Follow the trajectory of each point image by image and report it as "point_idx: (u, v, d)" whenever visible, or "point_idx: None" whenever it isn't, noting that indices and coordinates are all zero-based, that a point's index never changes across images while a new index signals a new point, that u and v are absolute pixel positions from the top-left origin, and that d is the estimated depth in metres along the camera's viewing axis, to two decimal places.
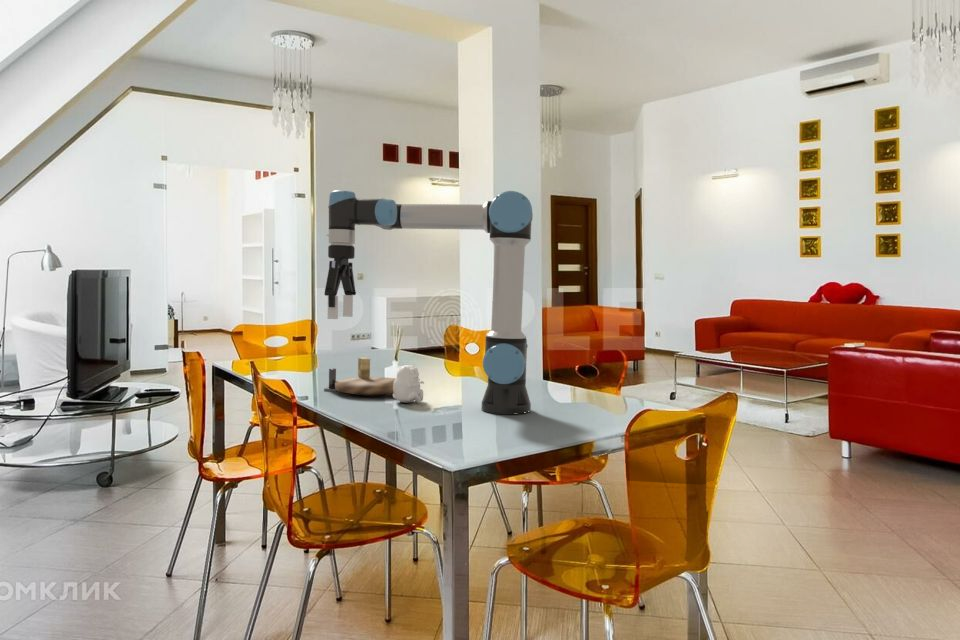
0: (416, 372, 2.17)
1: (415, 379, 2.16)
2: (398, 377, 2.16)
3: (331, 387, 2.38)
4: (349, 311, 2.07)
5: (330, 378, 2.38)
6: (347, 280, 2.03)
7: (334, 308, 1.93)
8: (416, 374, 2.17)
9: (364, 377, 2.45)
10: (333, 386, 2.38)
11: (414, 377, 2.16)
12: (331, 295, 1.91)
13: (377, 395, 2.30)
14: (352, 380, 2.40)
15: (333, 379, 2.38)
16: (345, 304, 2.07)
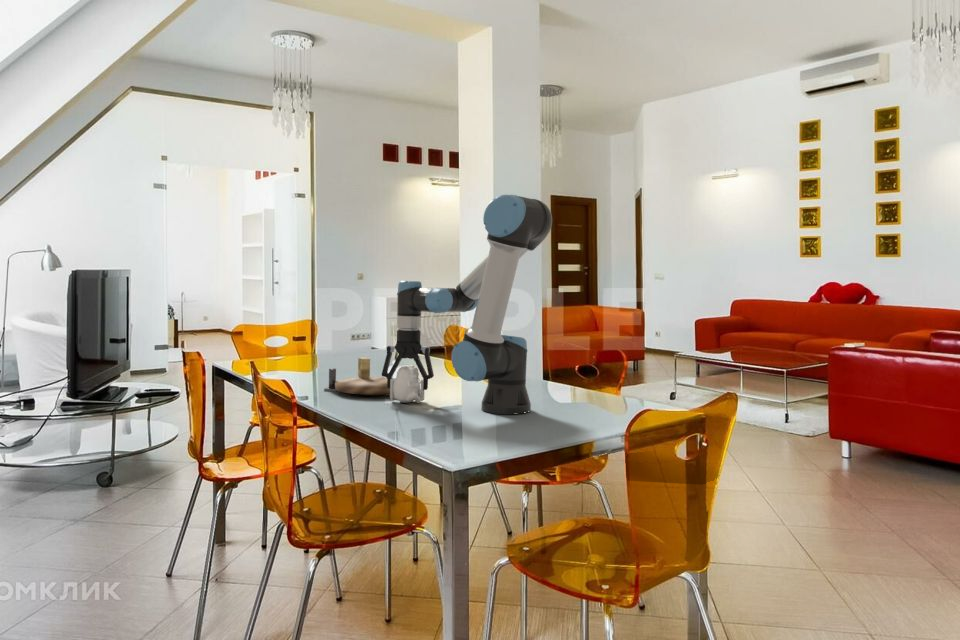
0: (416, 372, 2.17)
1: (415, 379, 2.16)
2: (398, 377, 2.16)
3: (331, 387, 2.38)
4: None
5: (330, 378, 2.38)
6: None
7: None
8: (416, 374, 2.17)
9: (364, 377, 2.45)
10: (333, 386, 2.38)
11: (414, 377, 2.16)
12: None
13: (377, 395, 2.30)
14: (352, 380, 2.40)
15: (333, 379, 2.38)
16: None
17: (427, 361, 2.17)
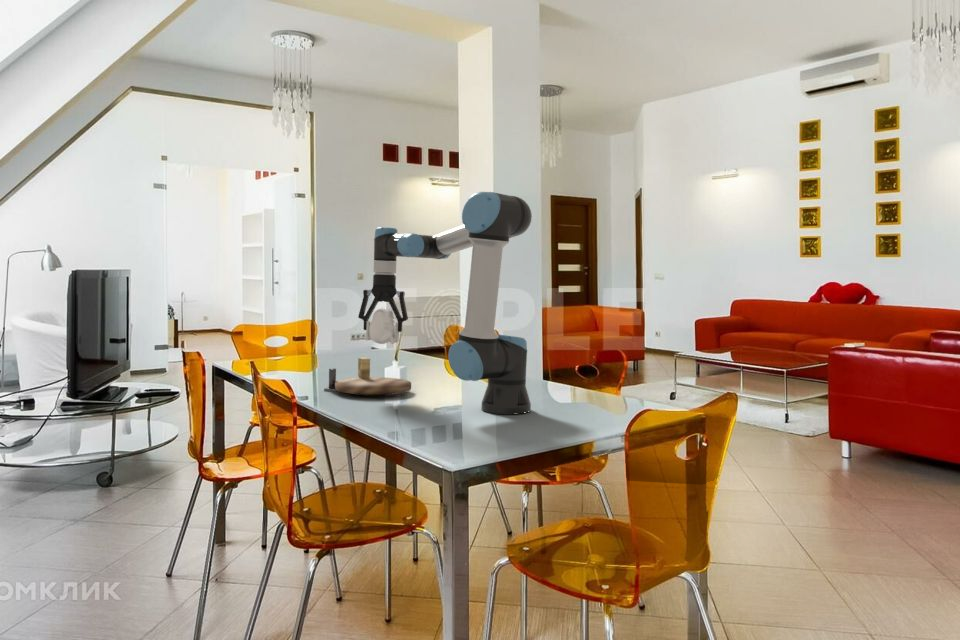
0: (391, 314, 2.29)
1: (390, 321, 2.27)
2: (374, 319, 2.28)
3: (331, 387, 2.38)
4: None
5: (330, 378, 2.38)
6: None
7: None
8: (391, 316, 2.28)
9: (364, 377, 2.45)
10: (333, 386, 2.38)
11: (389, 319, 2.27)
12: None
13: (377, 395, 2.30)
14: (352, 380, 2.40)
15: (333, 379, 2.38)
16: None
17: (401, 304, 2.28)
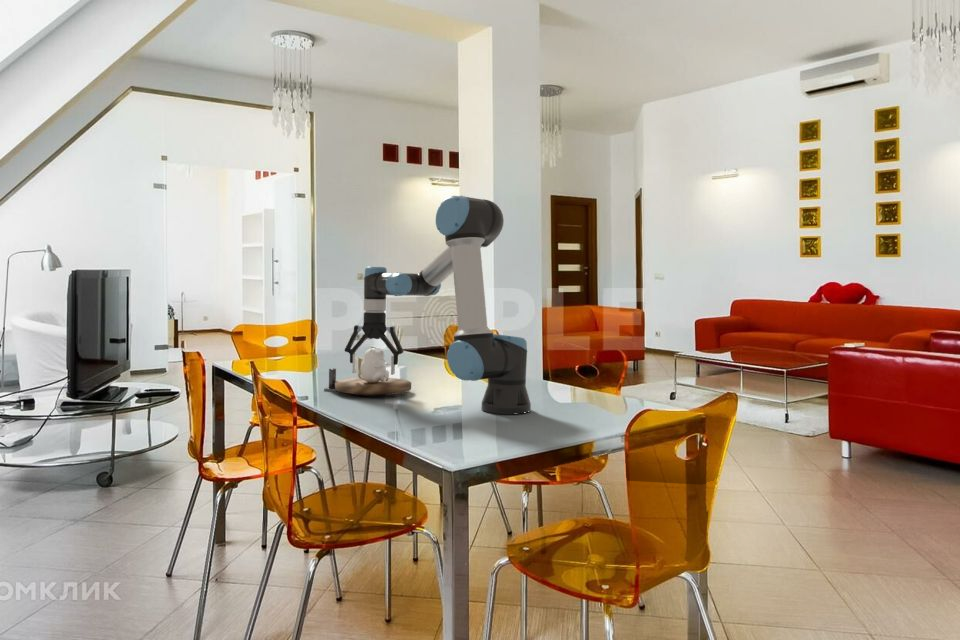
0: (381, 354, 2.34)
1: (380, 360, 2.33)
2: (365, 359, 2.33)
3: (331, 387, 2.38)
4: None
5: (330, 378, 2.38)
6: None
7: None
8: (381, 356, 2.34)
9: None
10: (333, 386, 2.38)
11: (379, 358, 2.33)
12: None
13: (377, 395, 2.30)
14: (352, 380, 2.40)
15: (333, 379, 2.38)
16: None
17: (394, 339, 2.34)
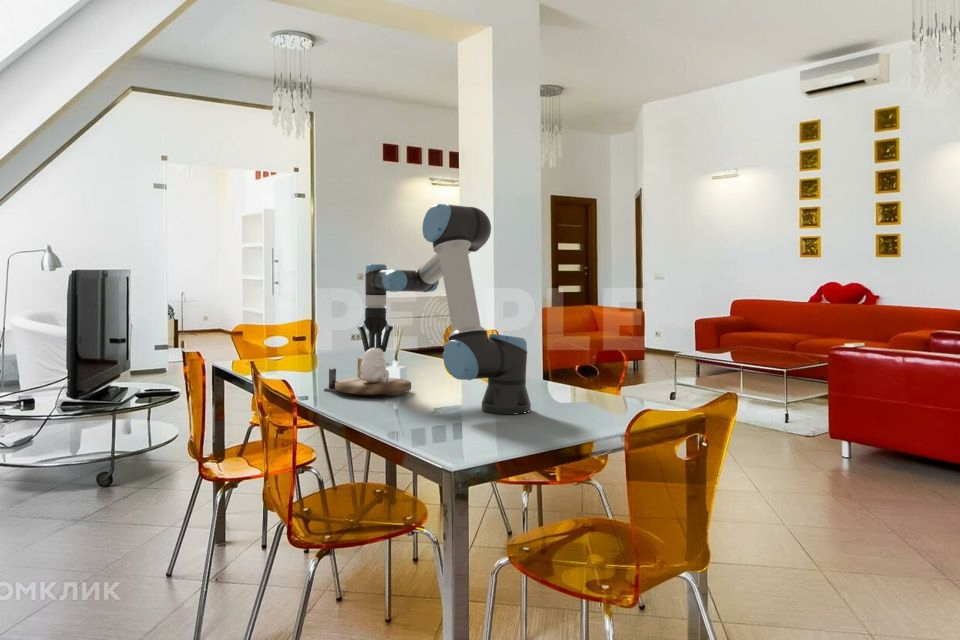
0: (382, 354, 2.34)
1: (380, 360, 2.33)
2: (365, 359, 2.33)
3: (331, 387, 2.38)
4: None
5: (330, 378, 2.38)
6: (377, 337, 2.47)
7: None
8: (381, 356, 2.34)
9: None
10: (333, 386, 2.38)
11: (380, 358, 2.33)
12: None
13: (377, 395, 2.30)
14: (352, 380, 2.39)
15: (333, 379, 2.38)
16: None
17: (387, 337, 2.48)
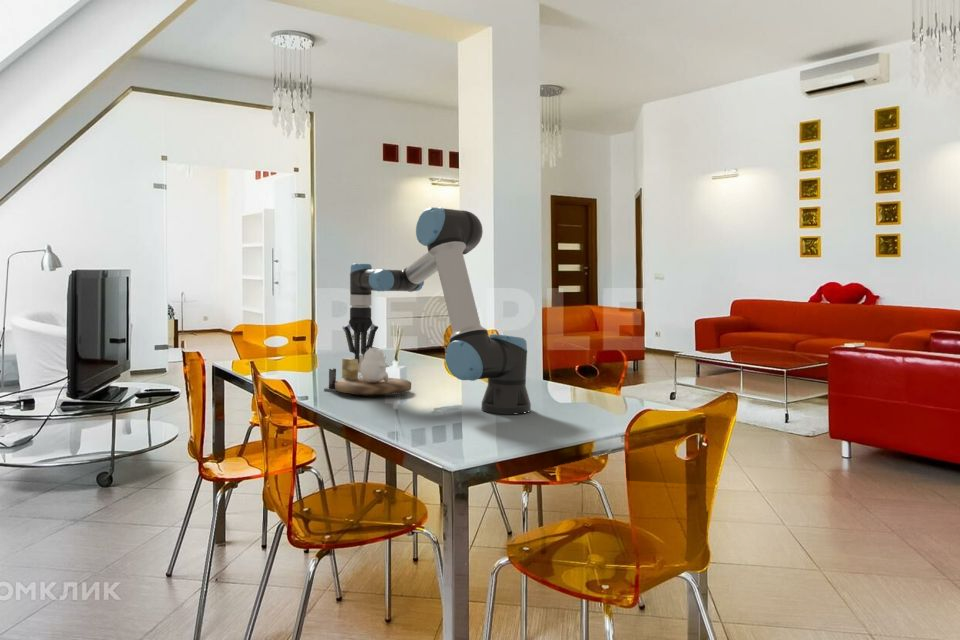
0: (383, 354, 2.36)
1: (384, 360, 2.34)
2: (368, 359, 2.32)
3: (331, 387, 2.38)
4: (360, 368, 2.46)
5: (330, 378, 2.38)
6: (362, 337, 2.46)
7: (358, 364, 2.46)
8: (384, 355, 2.35)
9: (353, 378, 2.42)
10: (333, 386, 2.38)
11: (383, 358, 2.34)
12: (354, 353, 2.45)
13: (377, 395, 2.30)
14: (348, 382, 2.36)
15: (333, 379, 2.38)
16: None
17: (372, 337, 2.47)
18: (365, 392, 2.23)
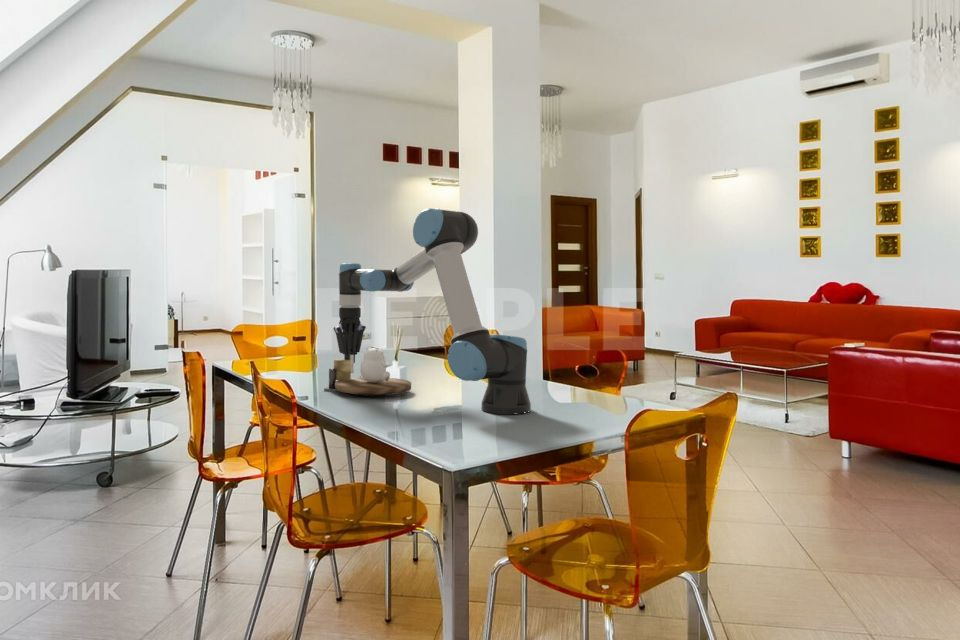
0: None
1: (385, 360, 2.36)
2: (371, 359, 2.32)
3: (331, 387, 2.38)
4: None
5: (330, 378, 2.38)
6: (352, 337, 2.43)
7: None
8: (384, 355, 2.36)
9: (347, 379, 2.39)
10: (333, 386, 2.38)
11: (385, 358, 2.35)
12: (345, 354, 2.42)
13: (377, 395, 2.30)
14: (348, 383, 2.33)
15: (333, 379, 2.38)
16: None
17: (361, 337, 2.46)
18: (378, 392, 2.24)
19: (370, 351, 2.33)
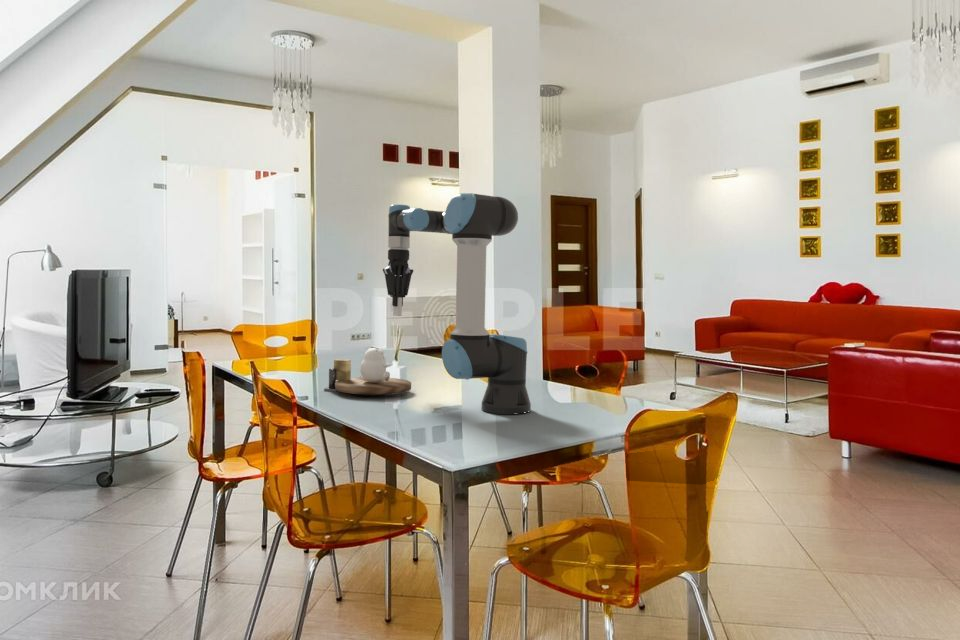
0: None
1: (385, 360, 2.36)
2: (371, 359, 2.32)
3: (331, 387, 2.38)
4: None
5: (330, 378, 2.38)
6: (400, 280, 2.43)
7: (397, 307, 2.42)
8: (384, 355, 2.36)
9: (347, 379, 2.39)
10: (333, 386, 2.38)
11: (385, 358, 2.35)
12: (393, 297, 2.41)
13: (377, 395, 2.30)
14: (348, 383, 2.33)
15: (333, 379, 2.38)
16: None
17: (409, 280, 2.45)
18: (378, 392, 2.24)
19: (370, 351, 2.33)
